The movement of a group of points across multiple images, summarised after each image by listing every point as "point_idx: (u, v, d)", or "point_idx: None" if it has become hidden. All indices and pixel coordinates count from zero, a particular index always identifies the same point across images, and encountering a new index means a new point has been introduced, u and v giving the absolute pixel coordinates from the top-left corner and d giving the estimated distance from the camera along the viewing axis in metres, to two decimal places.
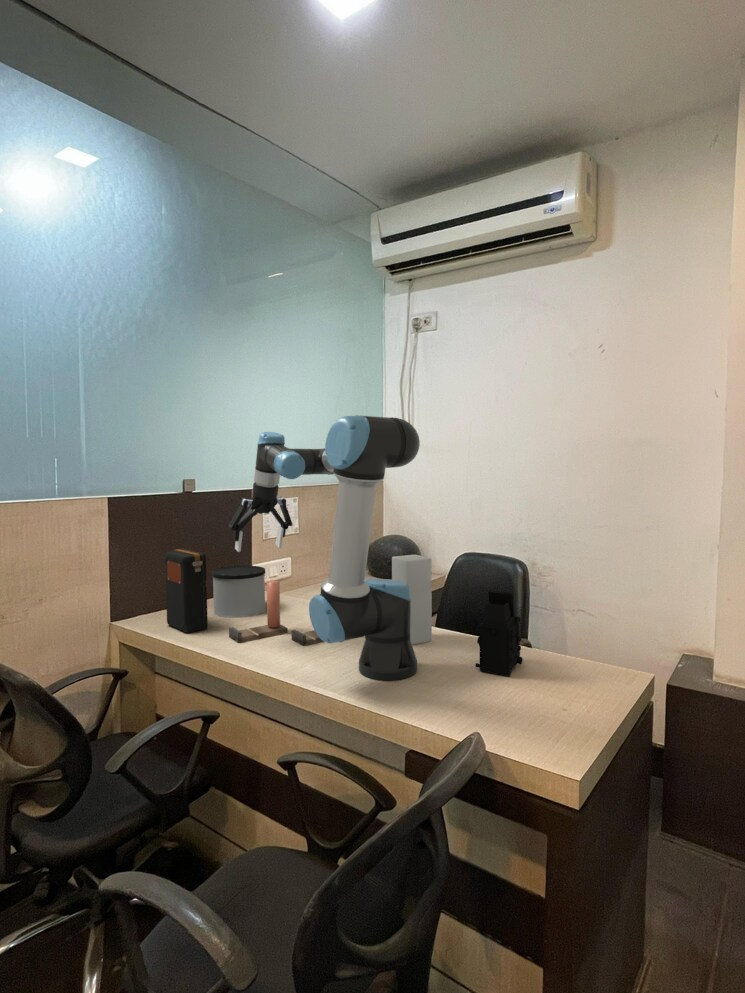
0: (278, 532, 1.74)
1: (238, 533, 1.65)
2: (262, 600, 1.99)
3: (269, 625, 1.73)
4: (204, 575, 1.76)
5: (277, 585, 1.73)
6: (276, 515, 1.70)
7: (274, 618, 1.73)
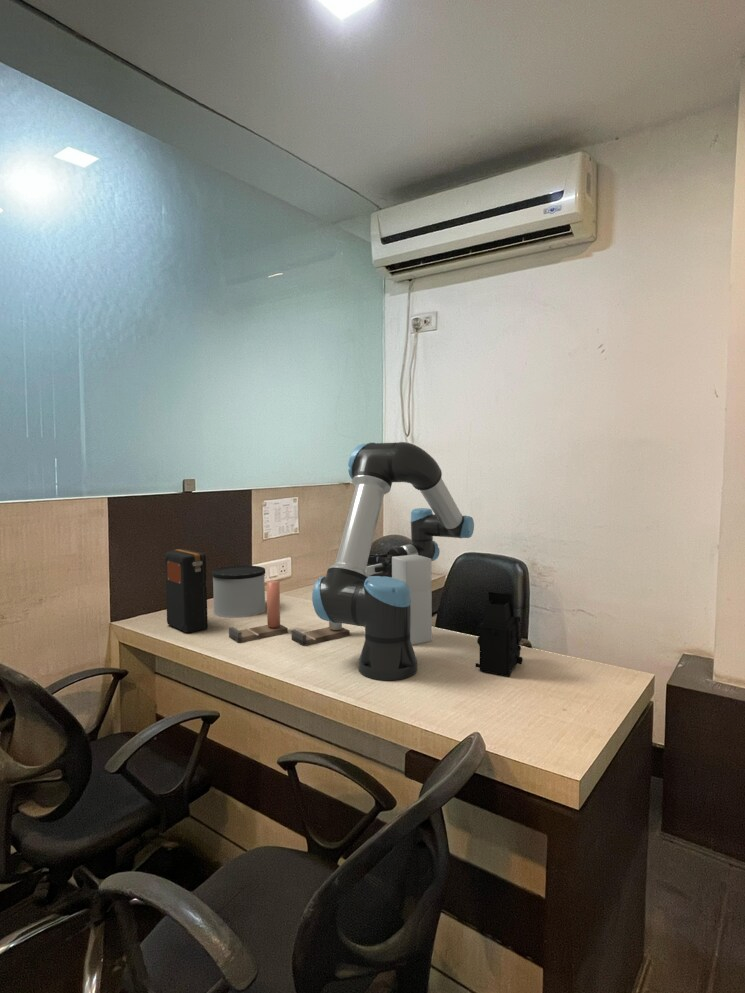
0: None
1: None
2: (262, 600, 1.99)
3: (269, 625, 1.73)
4: (204, 575, 1.76)
5: (277, 585, 1.73)
6: (387, 560, 1.79)
7: (274, 618, 1.73)
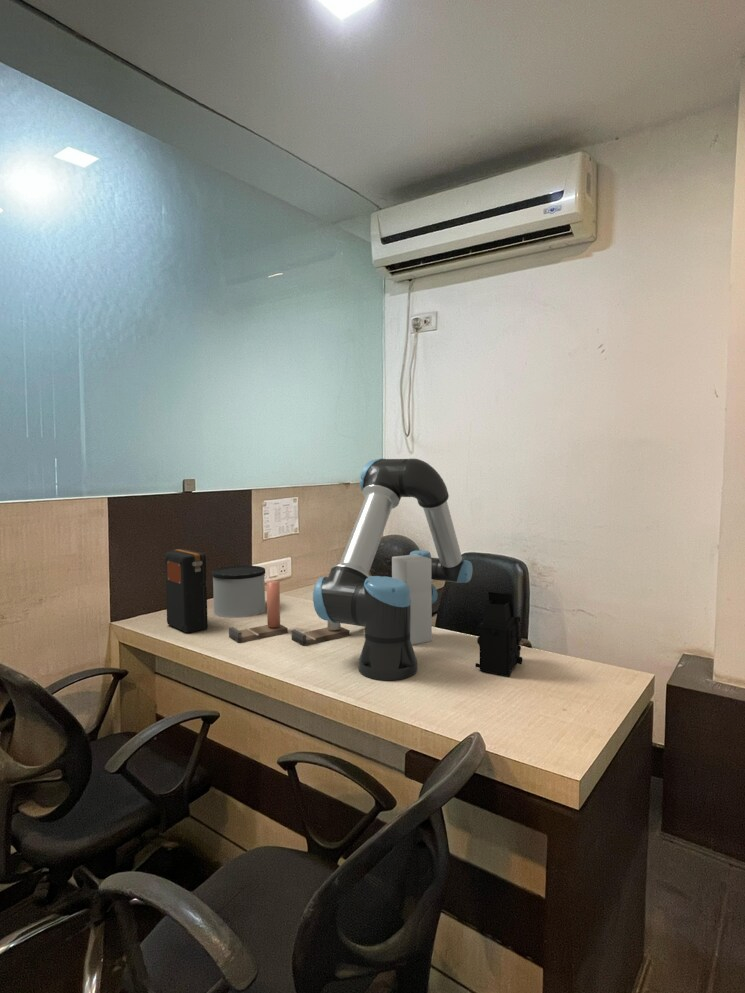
0: None
1: None
2: (262, 600, 1.99)
3: (269, 625, 1.73)
4: (204, 575, 1.76)
5: (277, 585, 1.73)
6: None
7: (274, 618, 1.73)
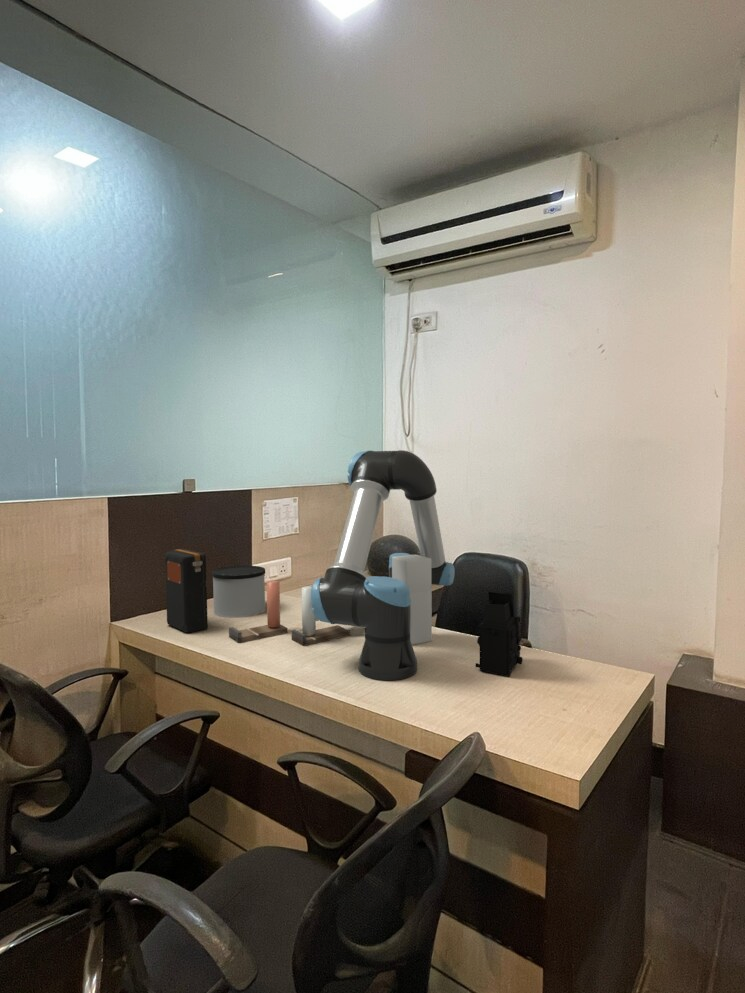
0: None
1: None
2: (262, 600, 1.99)
3: (269, 625, 1.73)
4: (204, 575, 1.76)
5: (277, 585, 1.73)
6: None
7: (274, 618, 1.73)
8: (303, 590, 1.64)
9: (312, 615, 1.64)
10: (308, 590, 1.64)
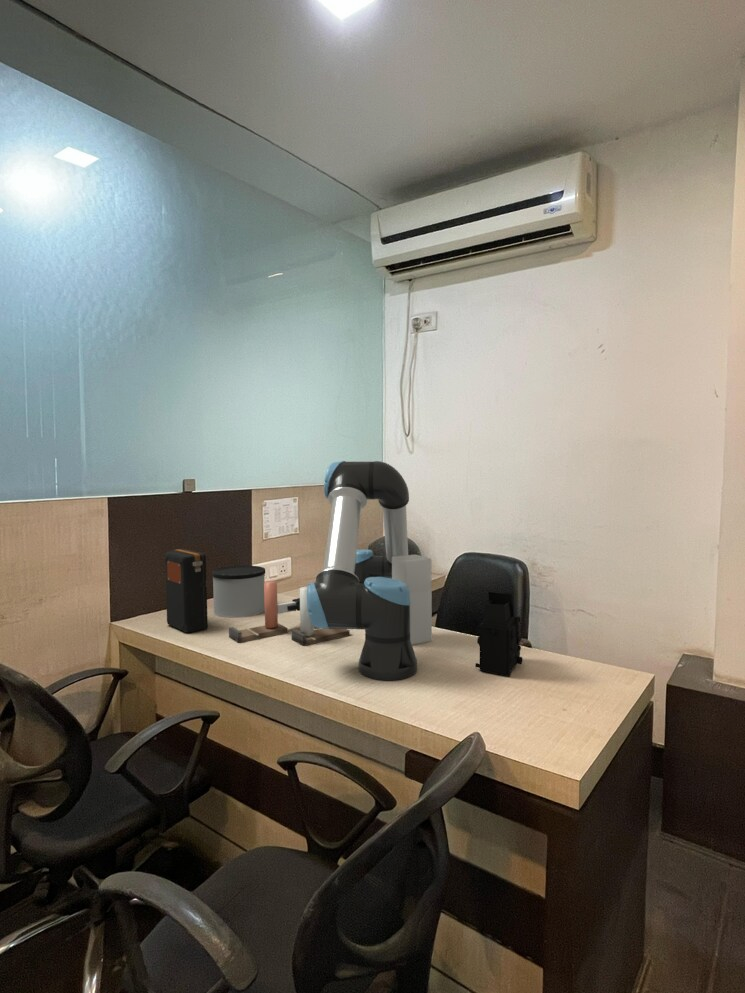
0: None
1: None
2: (262, 600, 1.99)
3: (266, 625, 1.73)
4: (204, 575, 1.76)
5: (274, 585, 1.73)
6: None
7: (271, 618, 1.72)
8: (301, 590, 1.64)
9: None
10: (306, 590, 1.63)
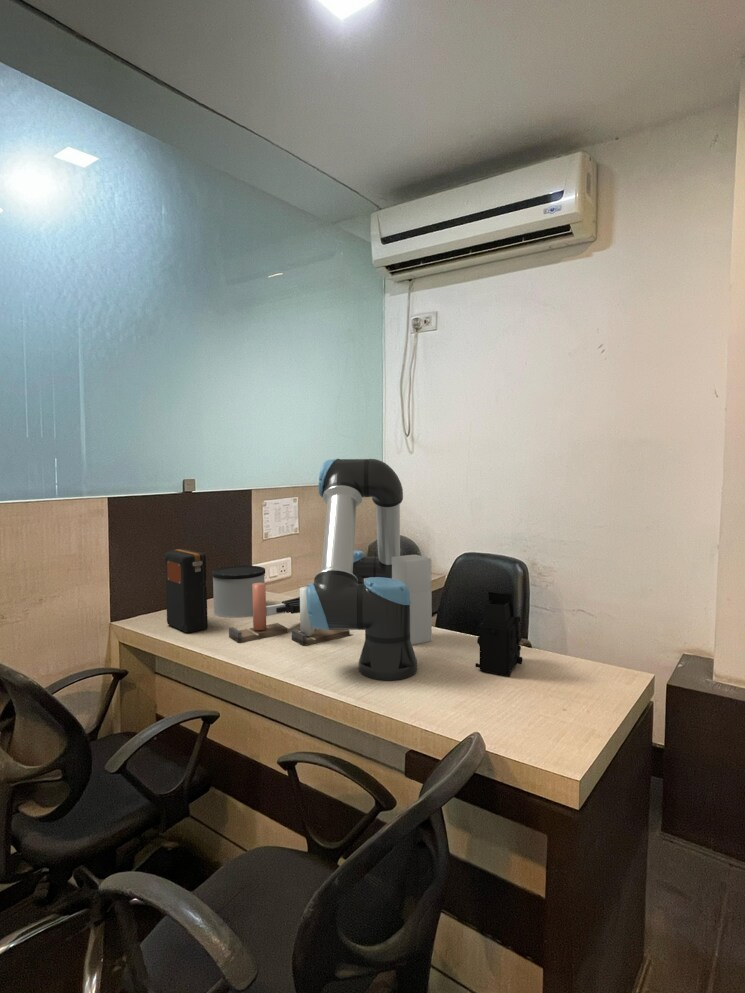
0: None
1: None
2: None
3: (255, 628, 1.70)
4: (204, 575, 1.76)
5: (263, 587, 1.70)
6: None
7: (260, 620, 1.70)
8: (301, 590, 1.64)
9: None
10: (306, 590, 1.63)
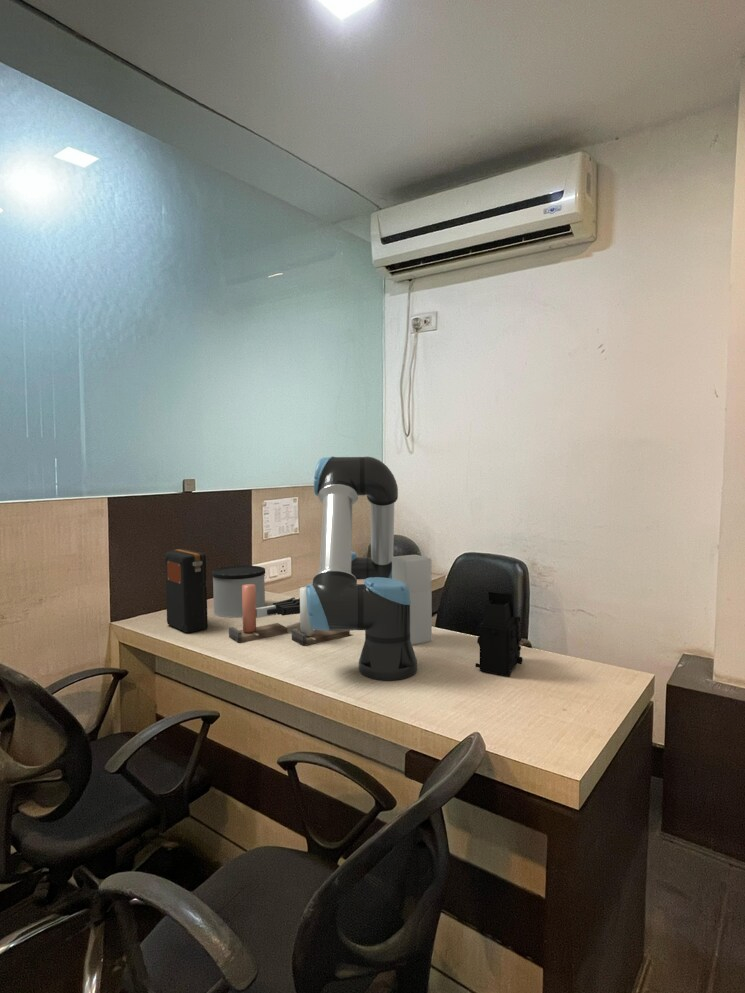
0: None
1: None
2: (262, 600, 1.99)
3: (244, 630, 1.68)
4: (204, 575, 1.76)
5: (253, 589, 1.68)
6: (293, 603, 1.78)
7: (249, 622, 1.68)
8: (301, 590, 1.64)
9: None
10: None
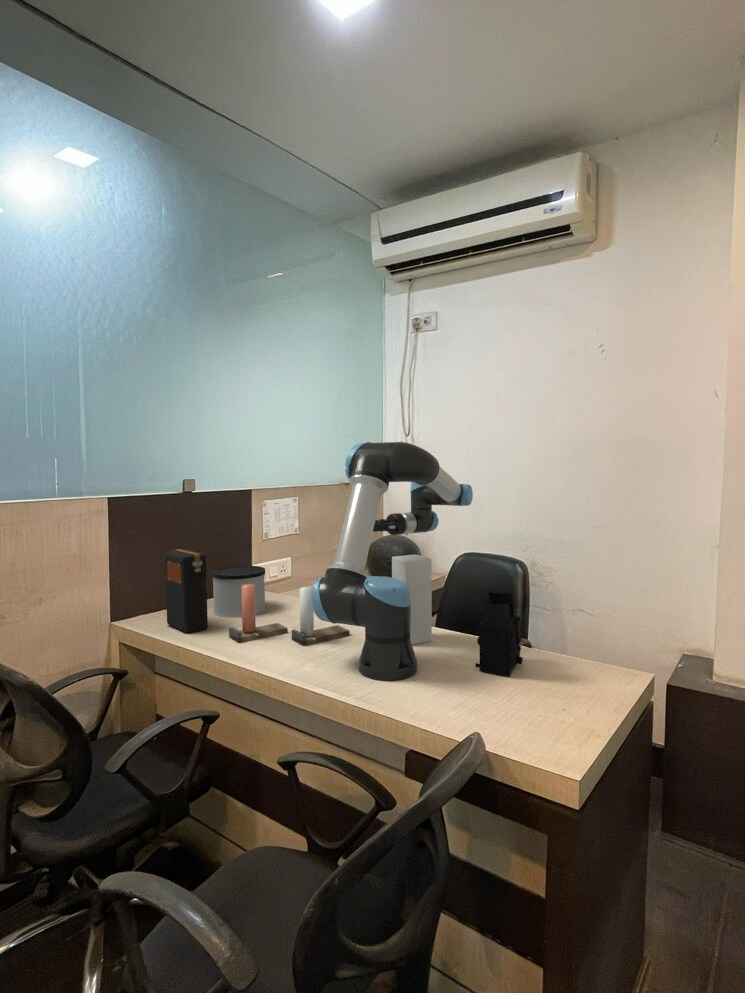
0: None
1: None
2: (262, 600, 1.99)
3: (244, 630, 1.68)
4: (204, 575, 1.76)
5: (252, 589, 1.68)
6: (376, 522, 1.85)
7: (249, 623, 1.68)
8: (301, 590, 1.64)
9: (310, 615, 1.64)
10: (306, 590, 1.63)
